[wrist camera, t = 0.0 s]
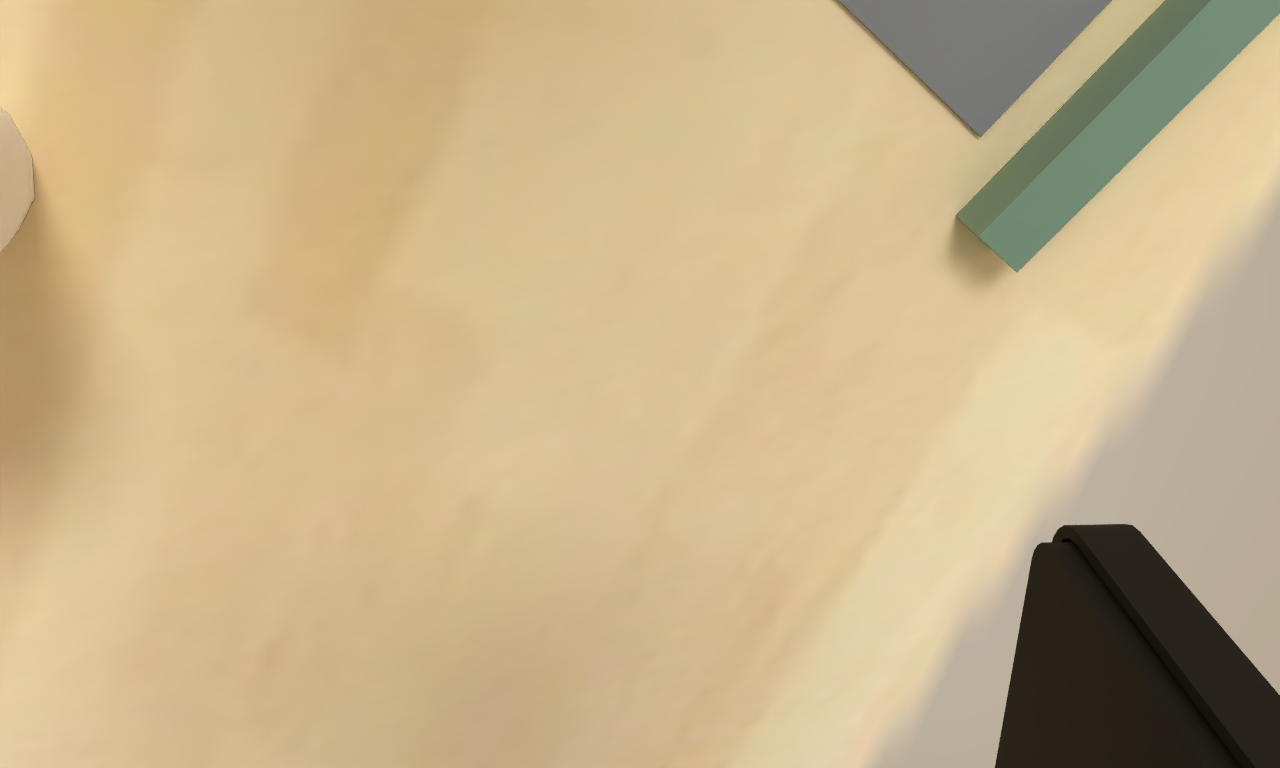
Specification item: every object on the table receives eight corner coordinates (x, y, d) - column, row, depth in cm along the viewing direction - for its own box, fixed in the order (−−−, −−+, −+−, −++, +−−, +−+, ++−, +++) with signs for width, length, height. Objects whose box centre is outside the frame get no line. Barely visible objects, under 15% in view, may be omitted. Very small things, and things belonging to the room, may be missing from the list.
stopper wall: (1373, -213, 36) (1427, -219, 34) (1408, -167, 36) (1464, -170, 34) (955, 216, 41) (978, 236, 39) (992, 250, 41) (1017, 272, 39)
